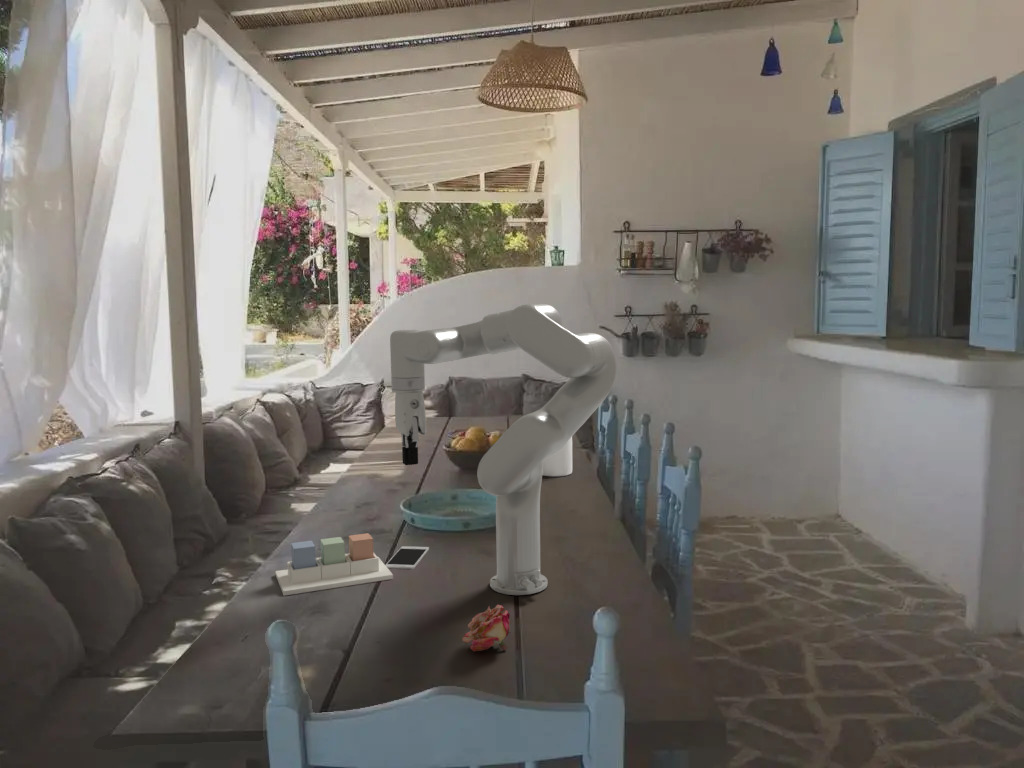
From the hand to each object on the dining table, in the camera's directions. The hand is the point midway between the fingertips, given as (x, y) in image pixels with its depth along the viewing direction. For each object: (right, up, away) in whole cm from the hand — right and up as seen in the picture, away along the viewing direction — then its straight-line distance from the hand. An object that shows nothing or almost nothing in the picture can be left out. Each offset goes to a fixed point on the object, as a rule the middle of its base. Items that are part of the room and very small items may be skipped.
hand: (410, 463), depth 186 cm
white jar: (+39, -14, +102) cm, 110 cm away
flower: (+19, -30, -40) cm, 53 cm away
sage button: (-17, -22, -2) cm, 28 cm away
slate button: (-23, -23, -4) cm, 33 cm away
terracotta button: (-11, -22, +1) cm, 25 cm away
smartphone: (-2, -25, +11) cm, 27 cm away
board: (-17, -26, -1) cm, 31 cm away
